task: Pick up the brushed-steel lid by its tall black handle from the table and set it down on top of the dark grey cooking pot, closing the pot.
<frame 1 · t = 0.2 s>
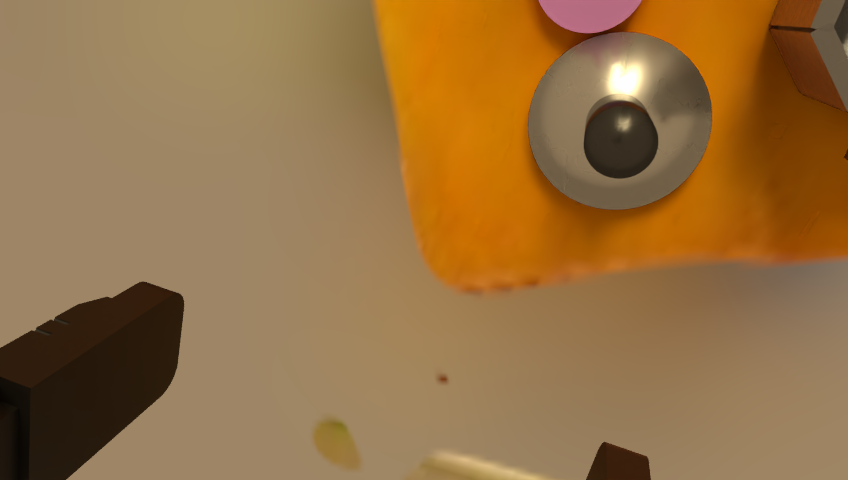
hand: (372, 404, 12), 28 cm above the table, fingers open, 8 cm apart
lid: (616, 121, 36), on the table
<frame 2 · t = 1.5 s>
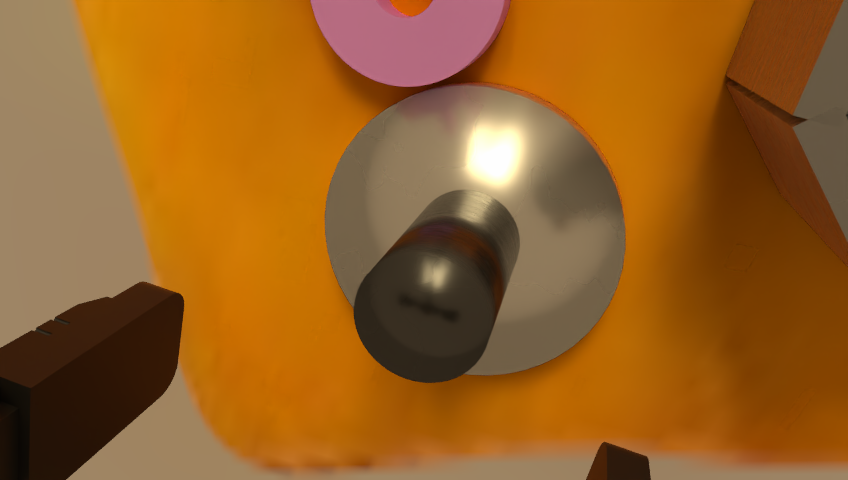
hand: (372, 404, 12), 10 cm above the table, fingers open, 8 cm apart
lid: (474, 228, 22), on the table
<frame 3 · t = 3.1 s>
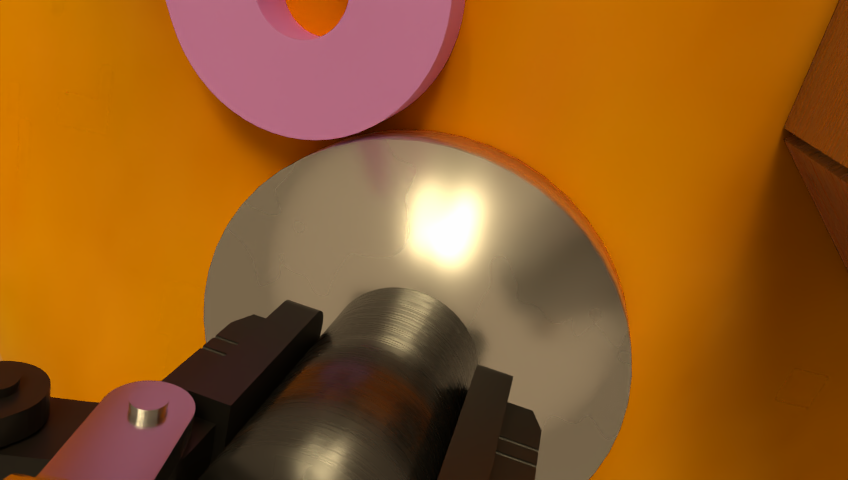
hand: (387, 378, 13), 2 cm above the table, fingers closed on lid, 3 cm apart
lid: (416, 333, 15), on the table, touching gripper
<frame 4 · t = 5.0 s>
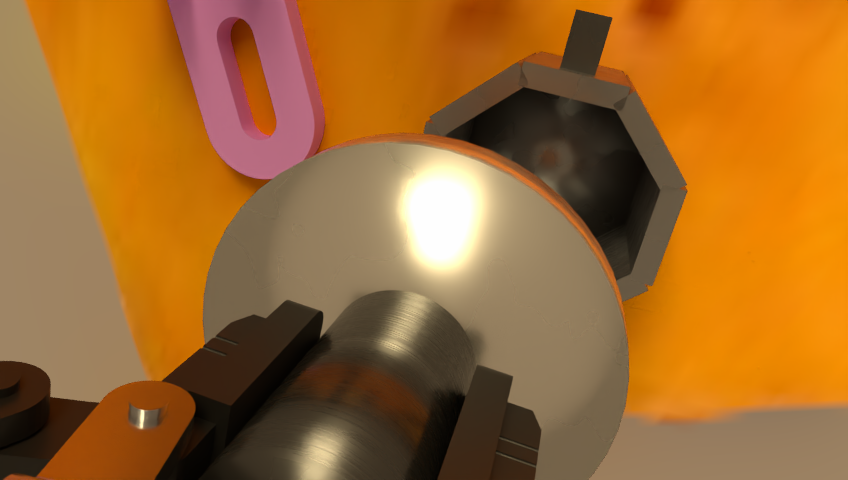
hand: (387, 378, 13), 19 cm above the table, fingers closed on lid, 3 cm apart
pot: (551, 163, 30), on the table
lid: (414, 335, 15), point 17 cm above the table, touching gripper
bracket: (252, 37, 32), on the table
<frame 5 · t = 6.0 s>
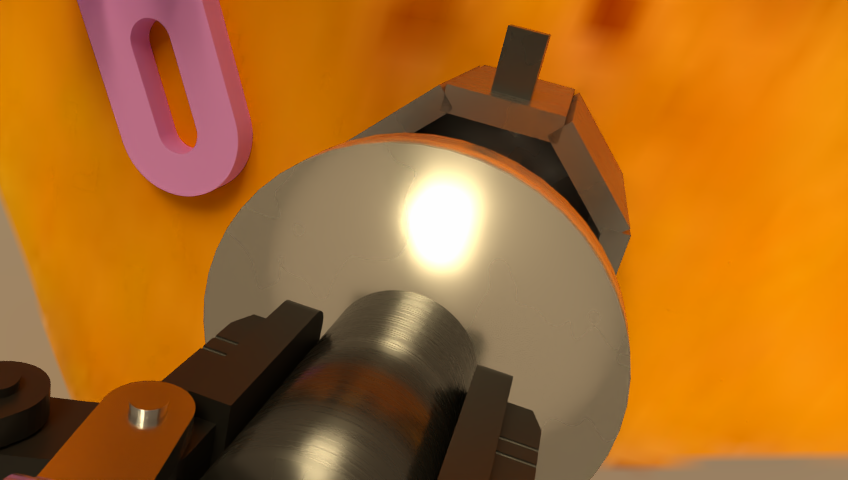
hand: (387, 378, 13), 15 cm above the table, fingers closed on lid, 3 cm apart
pot: (497, 188, 27), on the table
lid: (415, 335, 15), point 13 cm above the table, touching gripper
bracket: (173, 40, 29), on the table
when the fingers open (11 cm above the table, at t = 7.1 s): lid drops 1 cm, resting on pot.
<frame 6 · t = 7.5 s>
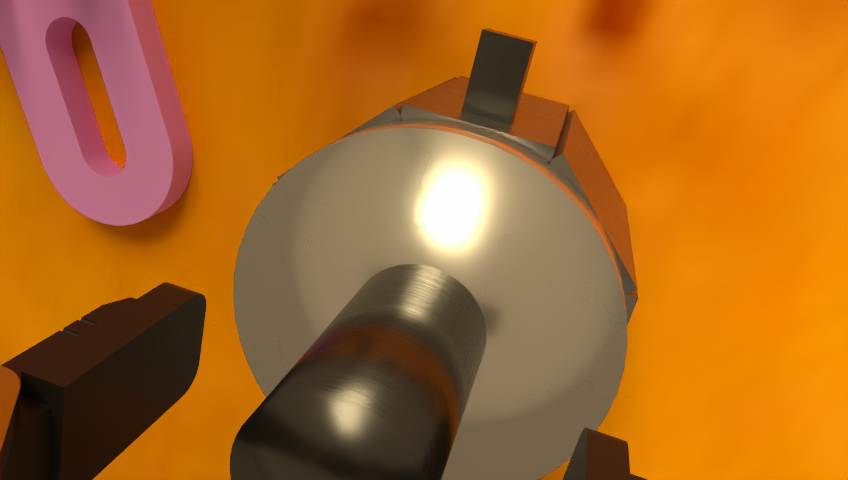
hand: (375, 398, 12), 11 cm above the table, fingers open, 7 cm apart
pot: (478, 221, 23), on the table
lid: (429, 308, 17), point 7 cm above the table, touching pot
bracket: (100, 43, 25), on the table
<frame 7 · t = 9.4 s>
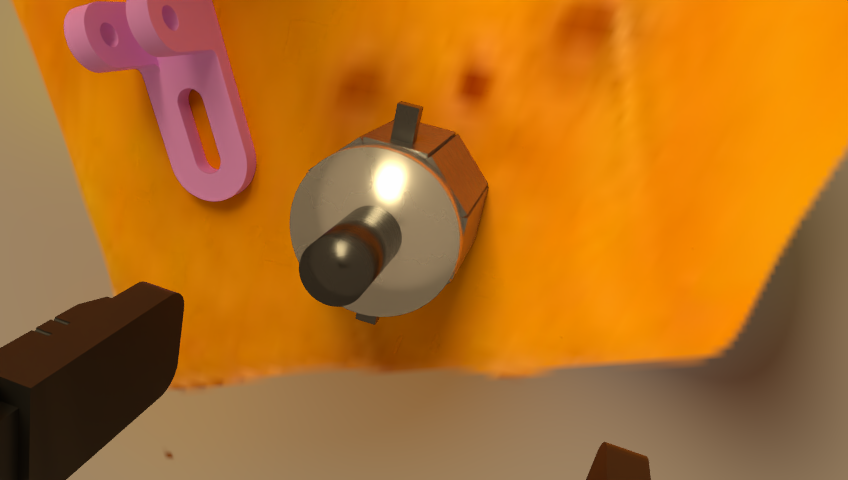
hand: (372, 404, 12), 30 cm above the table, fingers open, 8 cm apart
pot: (412, 194, 43), on the table
lid: (379, 228, 36), point 7 cm above the table, touching pot
bracket: (204, 100, 44), on the table
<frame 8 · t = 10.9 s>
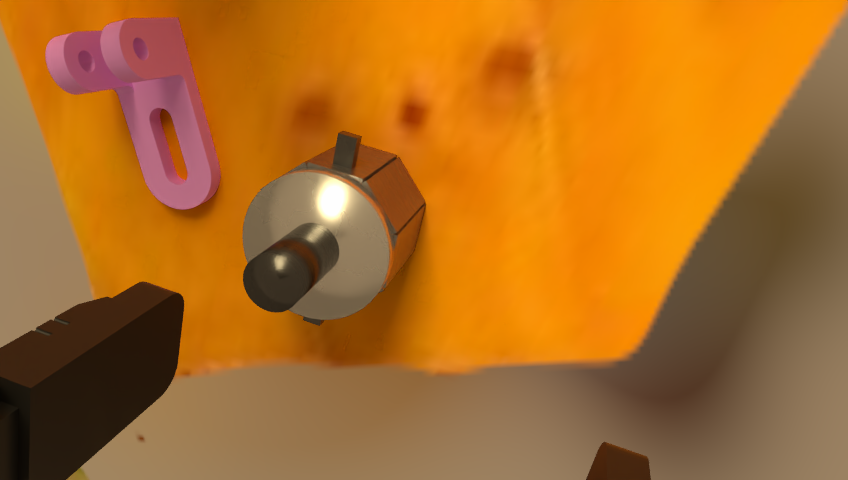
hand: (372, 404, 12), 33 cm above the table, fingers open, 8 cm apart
pot: (359, 209, 47), on the table
lid: (321, 242, 41), point 7 cm above the table, touching pot
bracket: (174, 117, 49), on the table
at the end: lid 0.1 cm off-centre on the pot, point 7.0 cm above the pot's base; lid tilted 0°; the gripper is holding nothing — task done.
